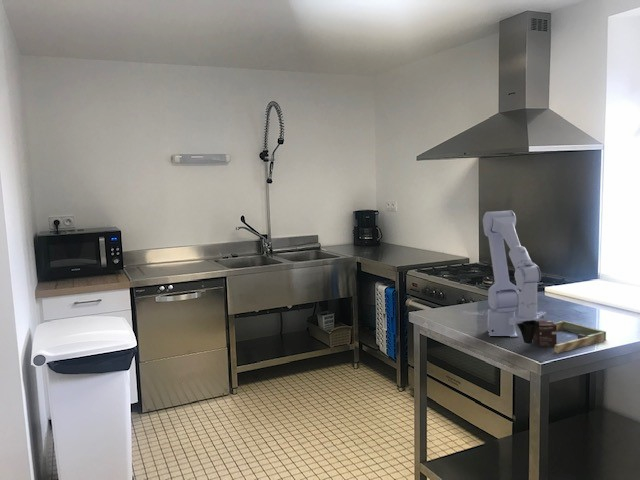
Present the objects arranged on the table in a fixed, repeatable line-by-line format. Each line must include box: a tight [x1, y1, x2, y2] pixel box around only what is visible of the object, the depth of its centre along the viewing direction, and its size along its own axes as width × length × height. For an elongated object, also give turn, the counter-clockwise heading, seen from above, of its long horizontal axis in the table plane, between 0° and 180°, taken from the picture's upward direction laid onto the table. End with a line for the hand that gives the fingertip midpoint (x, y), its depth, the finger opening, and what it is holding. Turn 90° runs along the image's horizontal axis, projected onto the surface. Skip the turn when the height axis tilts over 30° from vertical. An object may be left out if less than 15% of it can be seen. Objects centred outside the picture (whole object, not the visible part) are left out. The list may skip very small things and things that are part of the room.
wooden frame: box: [553, 320, 607, 354], centre depth 179 cm, size 23×17×3 cm
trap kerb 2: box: [577, 333, 587, 339], centre depth 174 cm, size 1×2×3 cm, turn 26°
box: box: [532, 320, 558, 348], centre depth 175 cm, size 6×6×7 cm
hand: (527, 342), depth 172 cm, fingers closed
